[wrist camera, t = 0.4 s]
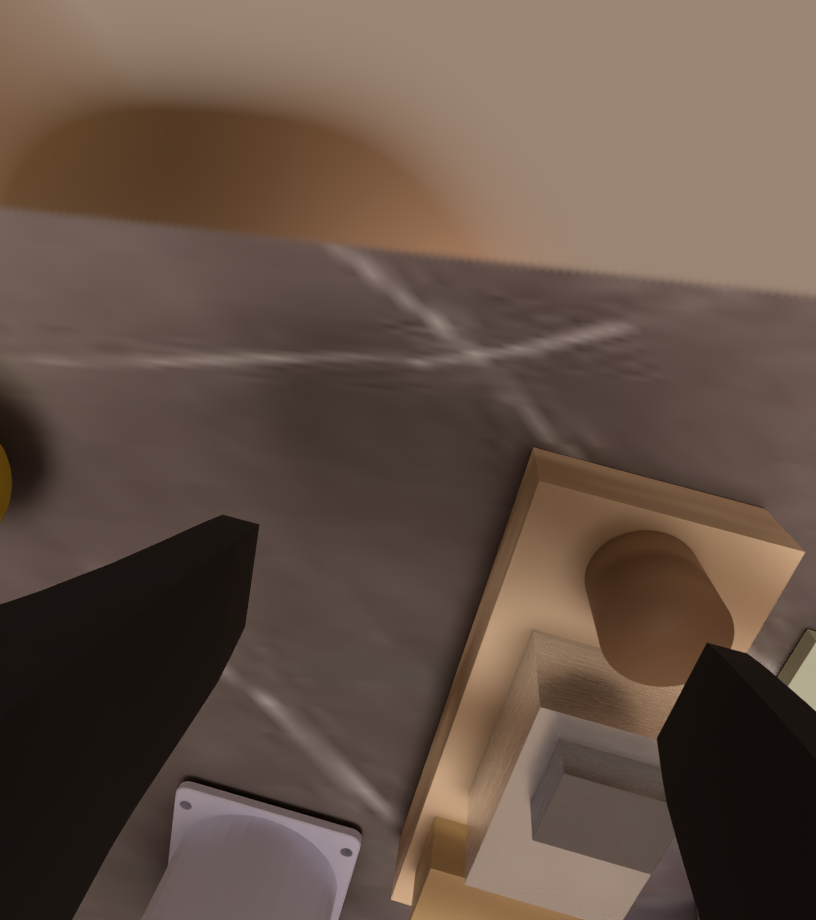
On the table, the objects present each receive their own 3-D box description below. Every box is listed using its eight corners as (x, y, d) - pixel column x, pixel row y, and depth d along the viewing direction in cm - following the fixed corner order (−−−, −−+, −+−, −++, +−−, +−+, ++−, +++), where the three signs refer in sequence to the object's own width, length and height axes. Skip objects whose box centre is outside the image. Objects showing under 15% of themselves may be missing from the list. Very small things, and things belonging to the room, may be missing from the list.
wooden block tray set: (563, 884, 25) (579, 1033, 20) (400, 836, 25) (379, 973, 20) (764, 508, 18) (858, 608, 13) (533, 447, 18) (546, 524, 13)
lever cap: (599, 830, 20) (624, 969, 16) (468, 792, 20) (462, 922, 16) (685, 671, 17) (738, 795, 13) (532, 629, 17) (543, 740, 14)
